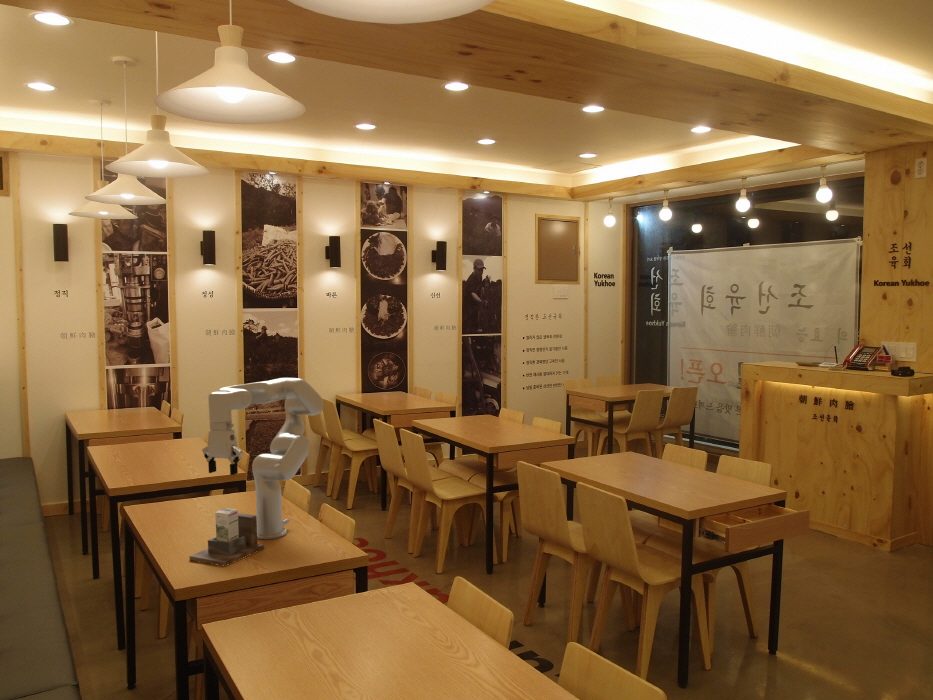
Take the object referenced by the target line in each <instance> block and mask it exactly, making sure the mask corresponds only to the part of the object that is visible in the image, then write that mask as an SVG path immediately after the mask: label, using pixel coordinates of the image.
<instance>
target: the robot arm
mask: <svg viewBox="0 0 933 700" xmlns="http://www.w3.org/2000/svg"><path fill="white" fill-rule="evenodd" d="M207 398H208V400H207V401H208V414H209V415H208V416H209V418H208V419H209V429H208V435H207V446H204V448H202V449H201V450H202V453H203V456H204V459H206V462H207V464H208V473H209V474H212V473H216V472H217V461H216V459H228V461H229V462H230V464H229V474H230V476H235V475H237V474H238V472H239V471H238V463H239V462H240V460H241V459H242V455H243V451H242V450H241V449H240V448H238V441H237V436H236V432H235V429H233V428H234V423H233V422H232V421H233V420H232V418H233V417H232V411H234V410H237V411H238V410H245V409H247V408H248V407H250V405H264V404H270V403H273V402H277V401H282V400H285V401H284V410H285V411H284V412H285V421H284V424H283V425H282V426H281V428H280V430H279V431H278V432H277V434H276V435H275V437H273V439H272V441H271V443H270V444H269V451H270V453H260V454H259V455H257V456H256V457H255V458H254V459H253V461H252V464H251V465H252V466H251V470H252V475H253V479H254V485H255V486H254V487H255V506H256V509H255V511H256V516H257V540H271V539H278V538H281V537H284V536H285V535H286V534H287V529H286V528H284V527H285V526H286V525H288V524H290V519H289V518H286V519H283V507H282V504H283V503H282V501H283V500H282V487H281V483H280V482H281V481H282V482H287V481H290V480H291V479H292V478H294V477H295V475H296V474H297V472H298V471H299V469H300V468H301V466H302V464H303V463H304V462H305V460H306V458H308V455H309V453H310V449H311V445H310V444H311V443H310V440H309V439H308V438H307V436H305V435H303V434H304V433H305V422H304V419H303V416H317V415H320V414H321V413H322V412H323V410H324V401H323V398H322V396H321V395H320V393H319V392H317V390H315V388H314V387H312V386H311V384H310V383H309V382H307V381H306V380H305V379H303V378H300V377H299V378H297V377H279V378H275V379H270V380H264V381H256V382H250V383H244V384H243V383H242V384H235V385H230V386H224V387H220V388H219V389H218V390H216V391H212V392H210V393H209V394H208V396H207Z"/></svg>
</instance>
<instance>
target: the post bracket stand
mask: <svg viewBox="0 0 933 700" xmlns="http://www.w3.org/2000/svg"><path fill="white" fill-rule="evenodd" d="M238 530H239V538H237V539H235V540H232V541H230V542H222V541H217V540H216V536H215V537H212V538H209V539H208V540H207V548H205V549H203V550H201V551H198V552H197V553H194V554H191V555H189V557H188V558H189V561H190V560H193V561H192V562H196V561H200V562H199V563H201V562H206V563H205V564H207V563H213V564H218V565H224V566H225V565H227V564H229V565H231V564H230V563H232V562H234V561H236V562H238V561H240V560H242V559H244V558H243V557H245V556H247V555H249V554H251V555H253V554H255V553H254V552H256V551H258V552H260V551H262V550H264V549H265V545H264V544H261V543H258V539H257V514H255V515H254V514H248V513H242V512H241V513H240V512H238ZM263 548H264V549H263ZM261 549H262V550H261ZM259 550H260V551H259ZM252 553H253V554H252ZM256 553H257V552H256ZM249 556H250V555H249ZM247 557H248V556H247ZM241 558H242V559H241ZM245 558H246V557H245ZM239 559H240V560H239ZM237 560H238V561H237ZM234 563H235V562H234ZM213 564H212V565H213ZM232 564H233V563H232ZM218 565H217V566H218ZM224 566H223V567H224ZM227 566H228V565H227ZM225 567H226V566H225Z"/></svg>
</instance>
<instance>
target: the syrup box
mask: <svg viewBox="0 0 933 700" xmlns="http://www.w3.org/2000/svg"><path fill="white" fill-rule="evenodd" d="M238 513H239V510H238V509H236V508H235V509H233V508H222V509H219V510H217V511H215V513H214V514H215V517H214V518H215V535H216V536H215V537H216V540H217V541H222V542H230V541H232V540H235V539H237V538H239V530H238Z"/></svg>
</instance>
